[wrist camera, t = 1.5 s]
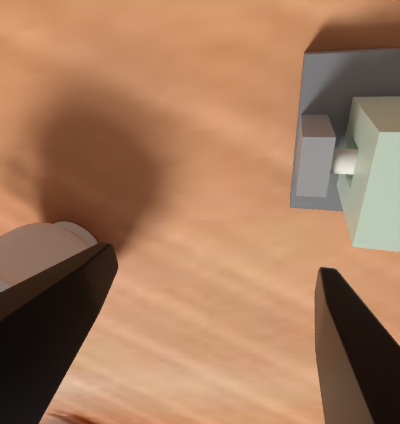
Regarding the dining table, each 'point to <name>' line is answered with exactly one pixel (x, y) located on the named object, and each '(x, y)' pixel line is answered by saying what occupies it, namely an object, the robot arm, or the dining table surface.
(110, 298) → the dining table surface
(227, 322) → the dining table surface
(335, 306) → the robot arm
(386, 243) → the sleeve
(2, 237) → the teacup
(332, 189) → the board
